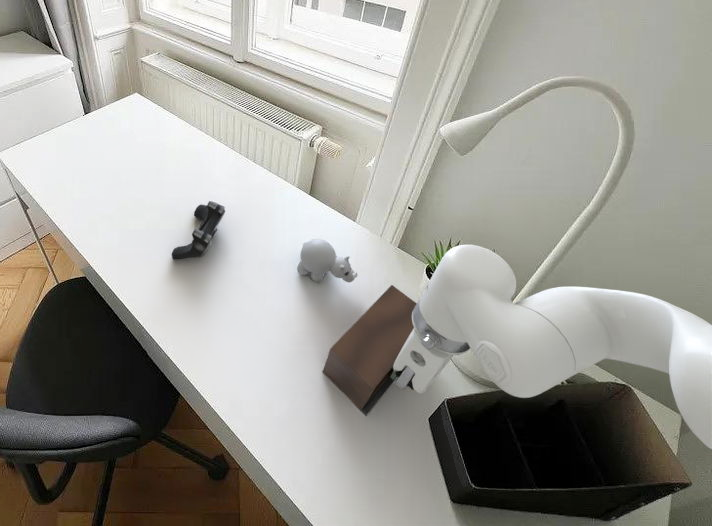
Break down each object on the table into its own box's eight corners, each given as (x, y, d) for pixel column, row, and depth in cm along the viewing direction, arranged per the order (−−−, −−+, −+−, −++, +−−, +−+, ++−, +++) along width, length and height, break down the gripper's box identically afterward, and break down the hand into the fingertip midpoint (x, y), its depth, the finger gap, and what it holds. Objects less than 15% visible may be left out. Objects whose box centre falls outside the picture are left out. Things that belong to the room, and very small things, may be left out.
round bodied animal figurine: (345, 303, 82) (353, 279, 76) (291, 273, 87) (296, 249, 82) (358, 277, 86) (367, 253, 81) (306, 250, 92) (311, 226, 86)
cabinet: (423, 344, 75) (439, 320, 69) (366, 416, 66) (379, 394, 61) (380, 310, 81) (391, 284, 75) (322, 371, 72) (330, 348, 66)
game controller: (193, 275, 91) (211, 257, 84) (167, 258, 90) (184, 239, 83) (218, 222, 102) (236, 202, 95) (195, 207, 102) (212, 186, 95)
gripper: (446, 384, 47) (403, 435, 59) (500, 306, 55) (452, 365, 66) (388, 336, 52) (358, 392, 64) (445, 270, 59) (409, 331, 71)
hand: (406, 378), depth 65 cm, fingers closed
